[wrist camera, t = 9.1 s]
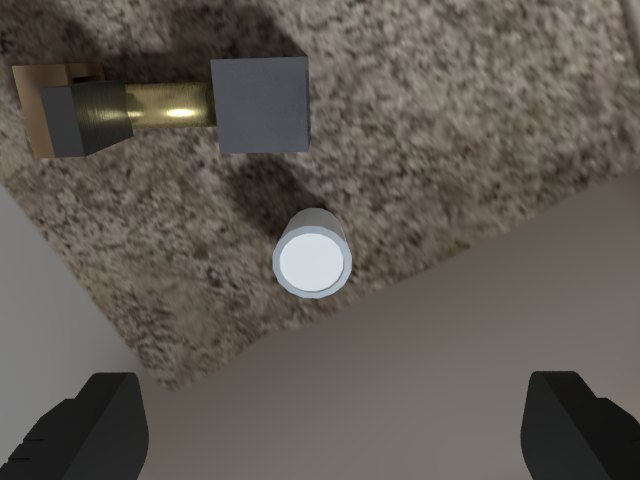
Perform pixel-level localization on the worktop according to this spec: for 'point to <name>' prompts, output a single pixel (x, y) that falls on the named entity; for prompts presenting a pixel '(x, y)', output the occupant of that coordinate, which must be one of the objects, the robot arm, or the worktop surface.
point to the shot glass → (312, 254)
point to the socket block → (28, 89)
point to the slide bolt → (121, 112)
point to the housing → (262, 104)
